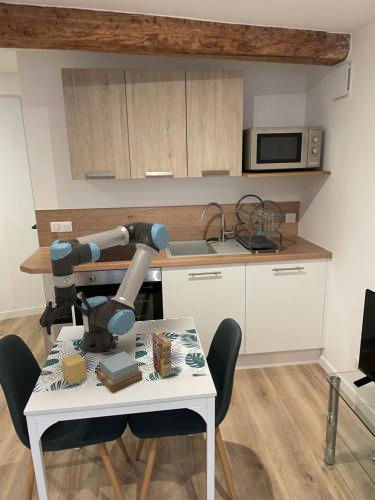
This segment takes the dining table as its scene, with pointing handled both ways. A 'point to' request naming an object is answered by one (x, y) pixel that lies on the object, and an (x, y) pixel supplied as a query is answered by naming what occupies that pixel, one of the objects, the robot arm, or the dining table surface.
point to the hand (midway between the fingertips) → (70, 336)
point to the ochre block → (74, 368)
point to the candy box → (161, 354)
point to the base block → (119, 381)
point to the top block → (118, 366)
